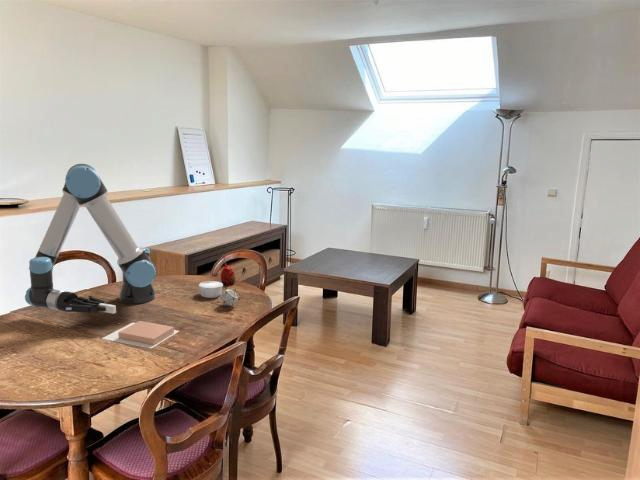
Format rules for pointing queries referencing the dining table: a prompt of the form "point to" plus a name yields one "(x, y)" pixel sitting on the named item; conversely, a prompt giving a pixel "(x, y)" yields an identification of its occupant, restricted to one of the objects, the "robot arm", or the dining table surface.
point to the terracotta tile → (146, 332)
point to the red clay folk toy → (227, 274)
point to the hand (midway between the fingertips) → (114, 309)
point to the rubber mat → (116, 338)
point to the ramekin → (210, 289)
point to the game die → (229, 297)
